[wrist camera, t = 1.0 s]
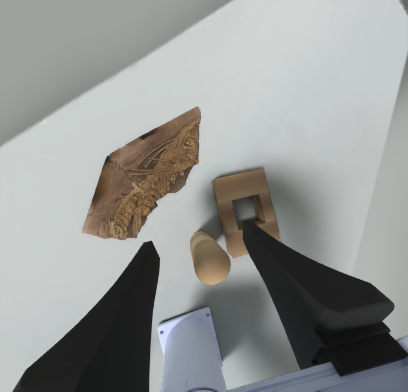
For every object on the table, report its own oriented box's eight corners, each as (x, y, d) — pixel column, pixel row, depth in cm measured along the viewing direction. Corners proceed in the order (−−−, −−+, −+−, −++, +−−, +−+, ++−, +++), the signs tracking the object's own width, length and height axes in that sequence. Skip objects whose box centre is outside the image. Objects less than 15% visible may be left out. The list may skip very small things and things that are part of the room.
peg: (213, 249, 23) (234, 278, 14) (192, 255, 23) (199, 289, 14) (208, 227, 23) (226, 242, 14) (186, 233, 23) (190, 253, 14)
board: (271, 239, 25) (281, 243, 23) (228, 252, 24) (233, 258, 21) (255, 171, 25) (263, 168, 23) (211, 181, 24) (215, 178, 21)
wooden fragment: (117, 258, 21) (113, 261, 20) (54, 208, 20) (48, 209, 19) (227, 138, 25) (229, 135, 24) (179, 91, 24) (179, 86, 23)
